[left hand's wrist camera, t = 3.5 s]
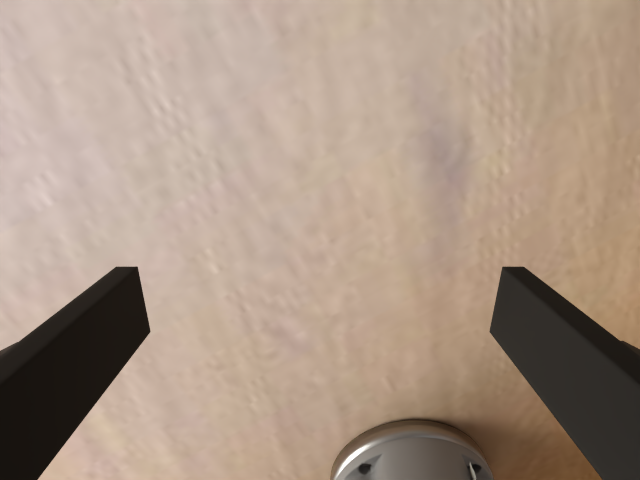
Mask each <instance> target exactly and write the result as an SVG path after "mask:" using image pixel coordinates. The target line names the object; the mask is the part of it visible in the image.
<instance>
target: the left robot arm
mask: <svg viewBox="0 0 640 480" xmlns="http://www.w3.org/2000/svg"><path fill="white" fill-rule="evenodd" d="M149 333H150V327H149V322H148V317H147V312H146V307H145V302H144V297H143V292H142V287H141V282H140V277H139V272H138V267H115V268H114V269H113V270H111V271H110V272H109V273H108V274H106V275H105V276H104V277H102V278H101V279H100V280H98V281H97V282H96V283H95V284H93V285H92V286H91V287H89V288H88V289H87V290H85V291H84V292H83V293H82V294H80V295H79V296H78V297H76V298H75V299H74V300H72V301H71V302H70V303H69V304H67V305H66V306H65V307H63V308H62V309H61V310H60V311H58V312H57V313H56V314H54V315H53V316H52V317H50V318H49V319H48V320H47V321H45V322H44V323H43V324H41V325H40V326H39V327H37V328H36V329H35V330H34V331H32V332H31V333H30V334H28V335H27V336H26V337H24V338H23V339H22V340H21V341H19V342H17V343H15V344H13V345H11V346H9V347H7V348H5V349H3V350H1V351H0V480H37V479H38V478H39V477H40V475H41V474H42V473H43V472H44V470H45V469H46V468H47V466H48V465H49V464H50V462H51V461H52V460H53V458H54V457H55V456H56V455H57V453H58V452H59V451H60V449H61V448H62V447H63V445H64V444H65V443H66V441H67V440H68V439H69V438H70V436H71V435H72V434H73V432H74V431H75V430H76V428H77V427H78V426H79V424H80V423H81V422H82V421H83V419H84V418H85V417H86V415H87V414H88V413H89V411H90V410H91V409H92V407H93V406H94V405H95V404H96V402H97V401H98V400H99V398H100V397H101V396H102V394H103V393H104V392H105V390H106V389H107V388H108V387H109V385H110V384H111V383H112V381H113V380H114V379H115V377H116V376H117V375H118V373H119V372H120V371H121V370H122V368H123V367H124V366H125V364H126V363H127V362H128V360H129V359H130V358H131V356H132V355H133V354H134V353H135V351H136V350H137V349H138V347H139V346H140V345H141V343H142V342H143V341H144V339H145V338H146V337H147V336H148V334H149ZM490 333H491V334H492V336H493V337H494V338H495V339H496V341H497V342H498V343H499V345H500V346H501V347H502V349H503V350H504V351H505V353H506V354H507V355H508V356H509V358H510V359H511V360H512V362H513V363H514V364H515V366H516V367H517V368H518V370H519V371H520V372H521V373H522V375H523V376H524V377H525V379H526V380H527V381H528V383H529V384H530V385H531V387H532V388H533V389H534V390H535V392H536V393H537V394H538V396H539V397H540V398H541V400H542V401H543V402H544V404H545V405H546V406H547V407H548V409H549V410H550V411H551V413H552V414H553V415H554V417H555V418H556V419H557V421H558V422H559V423H560V424H561V426H562V427H563V428H564V430H565V431H566V432H567V434H568V435H569V436H570V438H571V439H572V440H573V441H574V443H575V444H576V445H577V447H578V448H579V449H580V451H581V452H582V453H583V455H584V456H585V457H586V458H587V460H588V461H589V462H590V464H591V465H592V466H593V468H594V469H595V470H596V472H597V473H598V474H599V475H600V477H601V478H602V479H603V480H640V349H638V348H636V347H634V346H632V345H630V344H628V343H626V342H624V341H619V340H618V339H617V338H616V337H614V336H613V335H612V334H610V333H609V332H608V331H606V330H605V329H604V328H603V327H601V326H600V325H599V324H597V323H596V322H595V321H593V320H592V319H591V318H590V317H588V316H587V315H586V314H584V313H583V312H582V311H580V310H579V309H578V308H577V307H575V306H574V305H573V304H571V303H570V302H569V301H568V300H566V299H565V298H564V297H562V296H561V295H560V294H558V293H557V292H556V291H555V290H553V289H552V288H551V287H549V286H548V285H547V284H545V283H544V282H543V281H542V280H540V279H539V278H538V277H536V276H535V275H534V274H532V273H531V272H530V271H529V270H527V269H526V268H525V267H502V272H501V277H500V282H499V287H498V292H497V297H496V302H495V307H494V312H493V317H492V322H491V327H490ZM331 480H494V479H493V475H492V472H491V470H490V468H489V466H488V464H487V461H486V459H485V457H484V455H483V453H482V451H481V449H480V448H479V446H478V445H477V444H476V443H475V442H474V441H473V440H472V439H471V438H470V437H469V436H467V435H466V434H465V433H463V432H461V431H460V430H458V429H456V428H453V427H451V426H448V425H445V424H442V423H437V422H432V421H424V420H406V421H398V422H392V423H388V424H384V425H381V426H378V427H375V428H373V429H371V430H368V431H366V432H364V433H363V434H361V435H359V436H358V437H356V438H355V439H353V440H352V441H351V442H350V443H349V444H347V445H346V446H345V447H344V449H343V450H342V451H341V452H340V454H339V455H338V456H337V458H336V460H335V462H334V464H333V467H332V471H331Z"/></svg>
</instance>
